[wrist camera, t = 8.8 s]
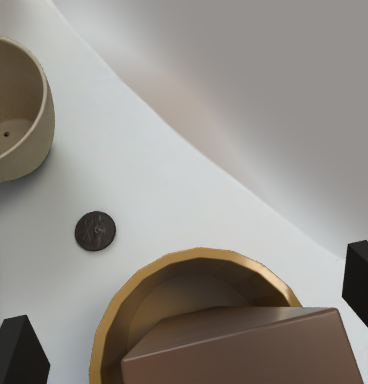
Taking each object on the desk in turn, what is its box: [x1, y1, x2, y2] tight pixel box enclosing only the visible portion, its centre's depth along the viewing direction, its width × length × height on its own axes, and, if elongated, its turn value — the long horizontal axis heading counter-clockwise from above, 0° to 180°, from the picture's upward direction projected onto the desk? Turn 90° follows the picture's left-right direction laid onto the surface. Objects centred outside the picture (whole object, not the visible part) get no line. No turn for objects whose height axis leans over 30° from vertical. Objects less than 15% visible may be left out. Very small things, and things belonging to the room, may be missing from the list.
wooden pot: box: [89, 247, 302, 384], centre depth 18 cm, size 10×10×9 cm
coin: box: [75, 211, 116, 251], centre depth 25 cm, size 3×1×3 cm
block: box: [121, 306, 364, 384], centre depth 14 cm, size 4×4×18 cm
